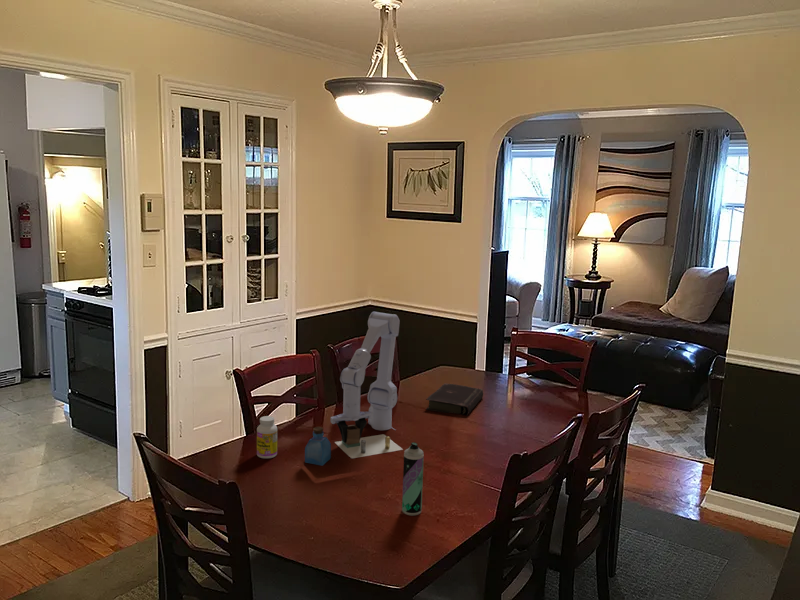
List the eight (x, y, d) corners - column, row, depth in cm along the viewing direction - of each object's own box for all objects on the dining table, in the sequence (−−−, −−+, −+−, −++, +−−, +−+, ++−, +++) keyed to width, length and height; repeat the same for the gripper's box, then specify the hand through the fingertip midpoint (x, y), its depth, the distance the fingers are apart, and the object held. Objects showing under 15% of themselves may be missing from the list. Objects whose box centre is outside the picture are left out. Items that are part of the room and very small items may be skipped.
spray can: (401, 506, 192) (403, 439, 189) (420, 506, 193) (422, 439, 189) (402, 515, 187) (405, 447, 183) (422, 515, 187) (425, 447, 184)
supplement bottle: (252, 457, 222) (252, 419, 220) (264, 449, 229) (263, 413, 226) (270, 460, 220) (270, 423, 218) (281, 453, 226) (281, 416, 224)
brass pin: (384, 447, 230) (384, 436, 230) (388, 447, 231) (388, 436, 230) (386, 449, 229) (386, 438, 228) (390, 448, 230) (390, 437, 229)
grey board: (334, 445, 234) (334, 442, 234) (383, 437, 243) (383, 434, 243) (351, 461, 221) (351, 458, 221) (403, 452, 230) (403, 449, 229)
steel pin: (360, 451, 226) (360, 440, 226) (364, 451, 227) (364, 439, 226) (361, 453, 225) (362, 442, 224) (366, 452, 226) (366, 441, 225)
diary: (483, 399, 290) (484, 388, 289) (468, 418, 267) (469, 406, 266) (441, 393, 297) (442, 382, 296) (423, 410, 274) (424, 398, 273)
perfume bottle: (330, 461, 221) (331, 426, 219) (322, 469, 215) (322, 433, 213) (313, 458, 223) (313, 424, 221) (304, 466, 217) (305, 430, 215)
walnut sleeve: (341, 442, 233) (342, 426, 232) (354, 440, 236) (354, 424, 235) (347, 447, 229) (347, 431, 228) (360, 445, 231) (360, 429, 230)
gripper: (336, 408, 223) (335, 447, 225) (376, 403, 230) (375, 441, 232) (328, 402, 229) (328, 440, 232) (367, 397, 236) (366, 434, 238)
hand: (351, 440), depth 232 cm, fingers closed on walnut sleeve, 4 cm apart
